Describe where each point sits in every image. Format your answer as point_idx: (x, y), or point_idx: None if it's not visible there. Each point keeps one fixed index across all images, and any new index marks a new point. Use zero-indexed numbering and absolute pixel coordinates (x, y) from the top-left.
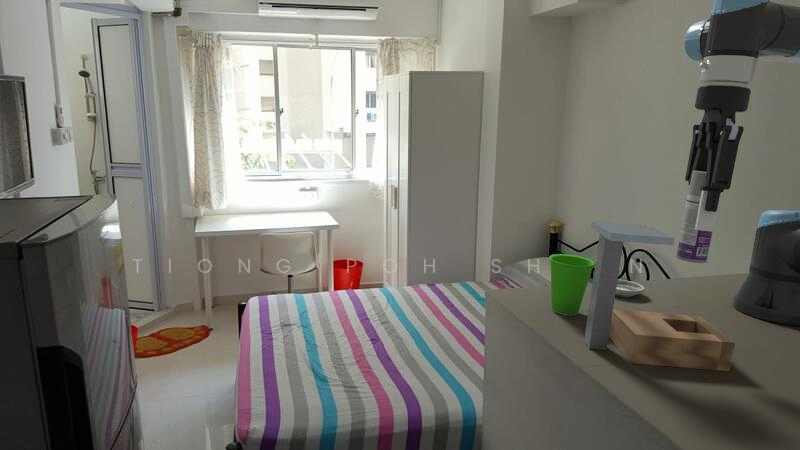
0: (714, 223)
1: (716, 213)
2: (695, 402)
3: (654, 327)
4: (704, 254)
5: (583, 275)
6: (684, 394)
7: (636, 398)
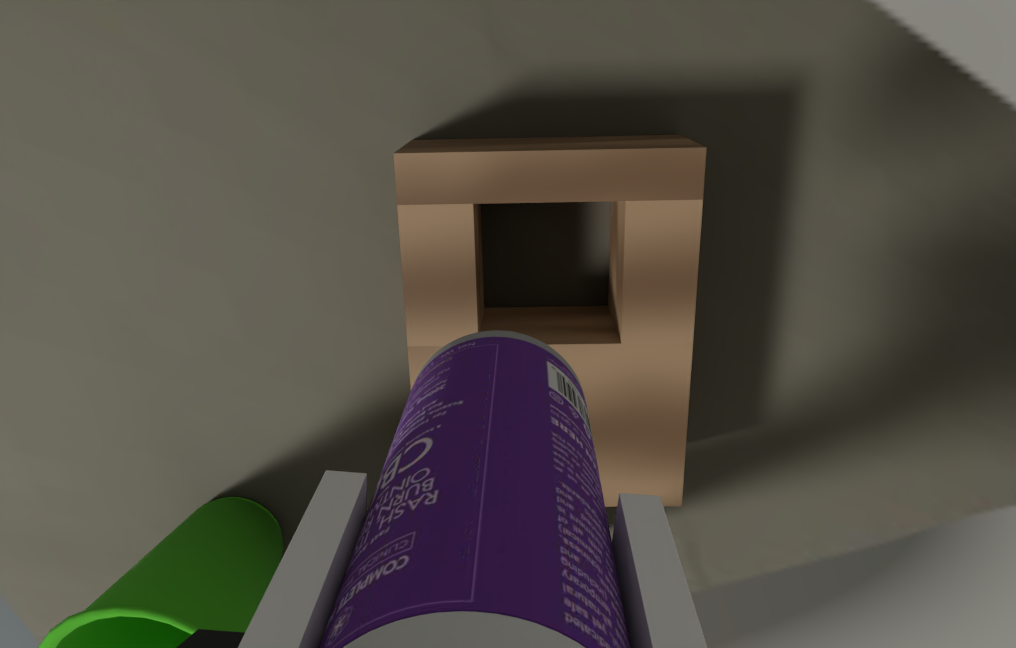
0: (675, 547)
1: (695, 617)
2: (904, 360)
3: (594, 414)
4: (582, 404)
5: (239, 629)
6: (858, 371)
7: (884, 507)
